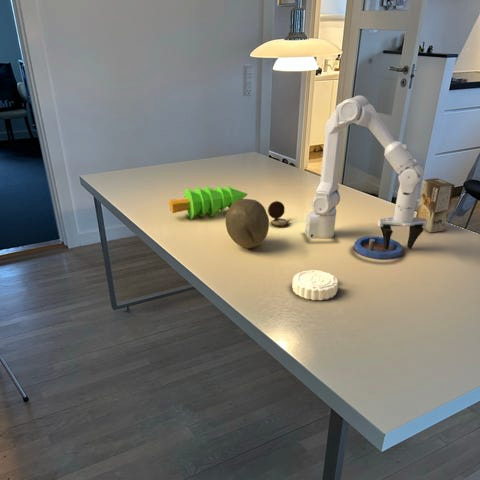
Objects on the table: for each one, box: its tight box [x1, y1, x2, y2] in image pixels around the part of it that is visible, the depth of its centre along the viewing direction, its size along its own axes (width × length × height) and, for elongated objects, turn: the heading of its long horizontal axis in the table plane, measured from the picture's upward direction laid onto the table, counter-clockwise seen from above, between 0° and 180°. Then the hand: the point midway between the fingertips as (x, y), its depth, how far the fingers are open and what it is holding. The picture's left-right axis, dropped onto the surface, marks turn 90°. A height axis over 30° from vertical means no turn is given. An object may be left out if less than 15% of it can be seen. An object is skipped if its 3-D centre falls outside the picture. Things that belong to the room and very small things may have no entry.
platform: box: [352, 239, 404, 261], centre depth 152 cm, size 15×15×4 cm
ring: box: [353, 235, 404, 260], centre depth 152 cm, size 14×14×2 cm
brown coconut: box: [225, 198, 270, 249], centre depth 153 cm, size 14×14×15 cm
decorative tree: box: [168, 185, 249, 220], centre depth 179 cm, size 11×12×30 cm
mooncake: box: [291, 269, 339, 301], centre depth 130 cm, size 12×12×4 cm
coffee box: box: [415, 177, 455, 233], centre depth 169 cm, size 9×6×16 cm
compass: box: [267, 200, 294, 228], centre depth 173 cm, size 8×8×7 cm
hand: (397, 248), depth 152 cm, fingers open, 7 cm apart
